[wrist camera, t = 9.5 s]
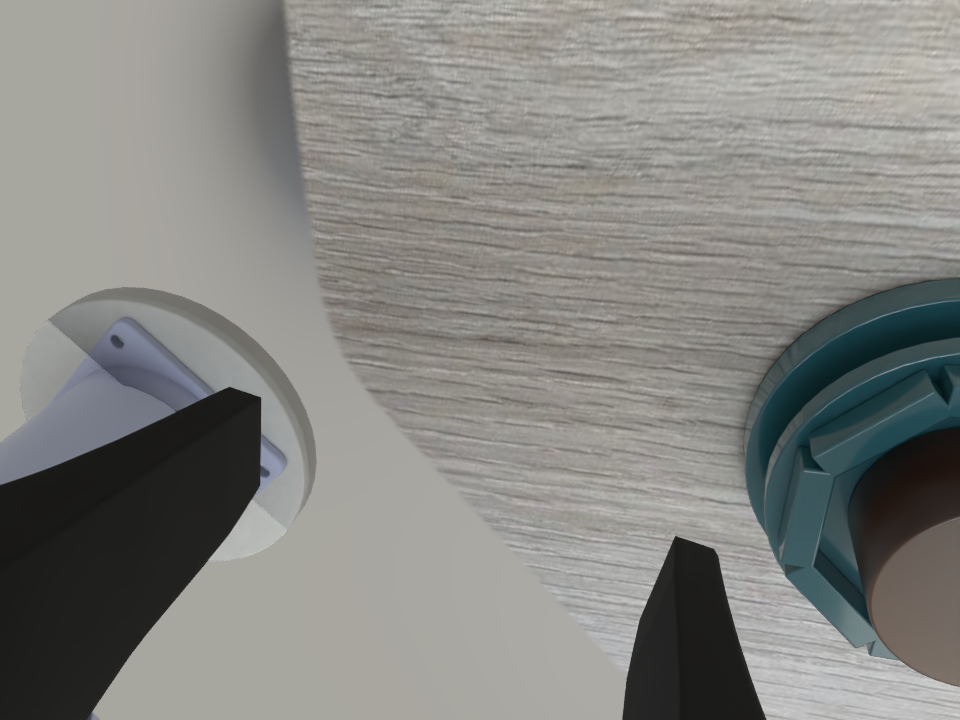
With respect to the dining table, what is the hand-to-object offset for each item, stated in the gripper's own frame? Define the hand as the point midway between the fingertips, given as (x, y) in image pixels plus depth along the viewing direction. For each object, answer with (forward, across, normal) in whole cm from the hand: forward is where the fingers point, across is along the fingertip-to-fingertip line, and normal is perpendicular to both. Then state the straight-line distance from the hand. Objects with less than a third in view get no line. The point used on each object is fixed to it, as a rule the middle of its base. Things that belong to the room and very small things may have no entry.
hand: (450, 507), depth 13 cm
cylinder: (+8, -11, +2) cm, 14 cm away
